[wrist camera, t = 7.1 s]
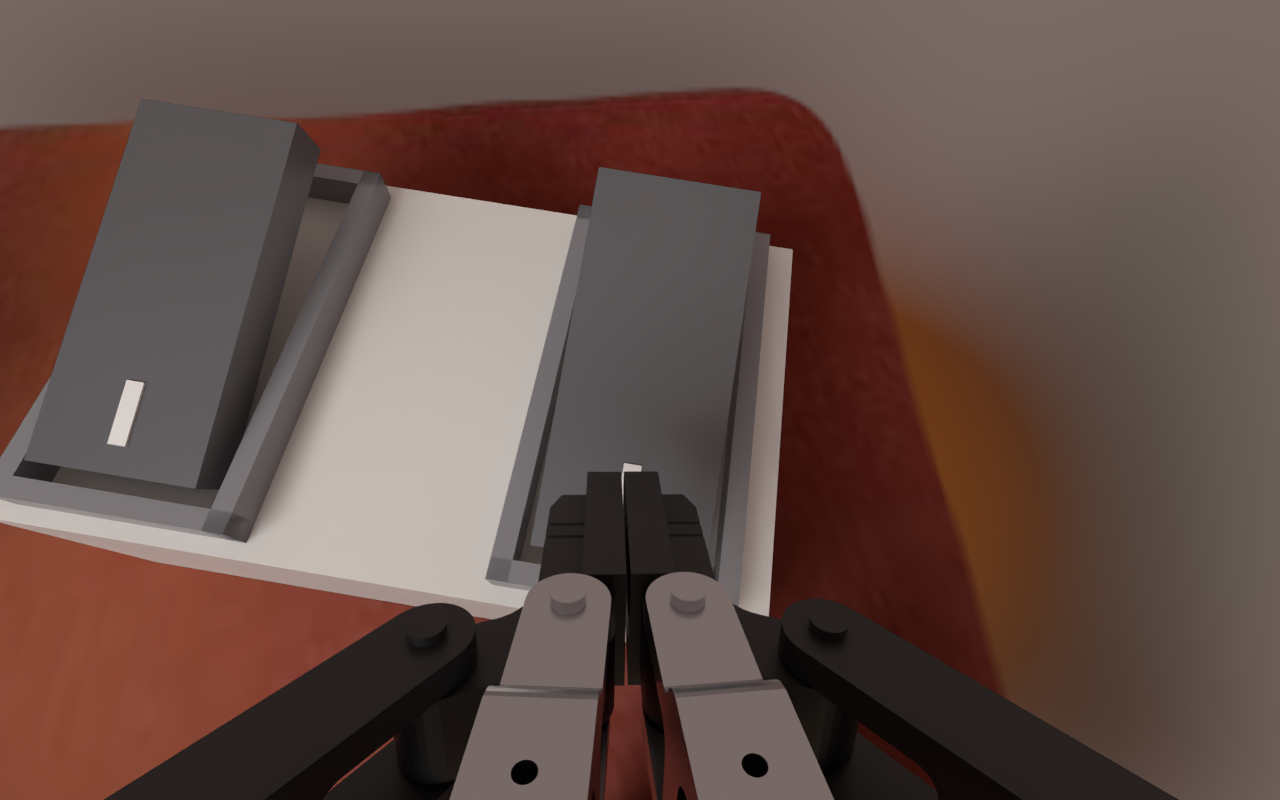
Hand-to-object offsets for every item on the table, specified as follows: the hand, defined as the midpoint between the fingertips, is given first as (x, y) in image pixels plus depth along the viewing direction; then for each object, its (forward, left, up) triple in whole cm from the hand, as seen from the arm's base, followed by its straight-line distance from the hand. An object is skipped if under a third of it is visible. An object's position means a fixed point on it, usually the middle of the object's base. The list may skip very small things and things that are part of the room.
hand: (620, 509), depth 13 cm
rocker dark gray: (0, +5, -3) cm, 6 cm away
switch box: (-10, +5, -13) cm, 18 cm away
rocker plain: (-14, +5, -3) cm, 15 cm away
